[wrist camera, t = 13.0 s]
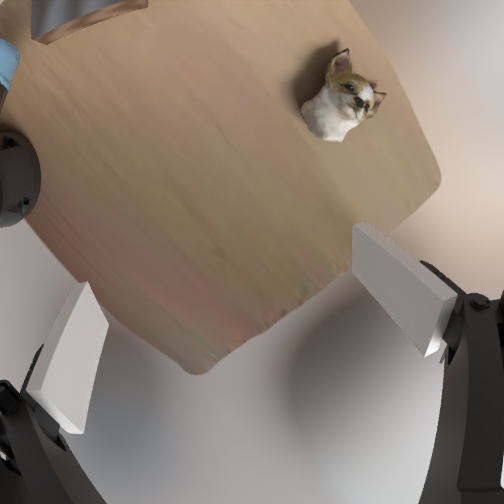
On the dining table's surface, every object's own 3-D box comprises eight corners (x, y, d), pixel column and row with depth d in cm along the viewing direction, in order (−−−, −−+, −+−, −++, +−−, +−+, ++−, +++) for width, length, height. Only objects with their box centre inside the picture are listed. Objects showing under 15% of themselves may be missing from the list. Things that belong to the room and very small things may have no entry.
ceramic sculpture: (297, 107, 29) (367, 36, 26) (273, 111, 36) (335, 48, 34) (355, 169, 33) (413, 96, 31) (324, 160, 41) (377, 97, 38)
